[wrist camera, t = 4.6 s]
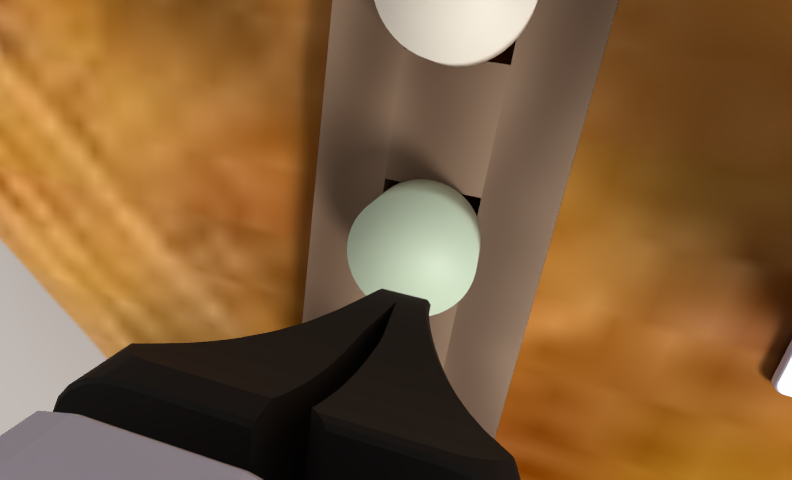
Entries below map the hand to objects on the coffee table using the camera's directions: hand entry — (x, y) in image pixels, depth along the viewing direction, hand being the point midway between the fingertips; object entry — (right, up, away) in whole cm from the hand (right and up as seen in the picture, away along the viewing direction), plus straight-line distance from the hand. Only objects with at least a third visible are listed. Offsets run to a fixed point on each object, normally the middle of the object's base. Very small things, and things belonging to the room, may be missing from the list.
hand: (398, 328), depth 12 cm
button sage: (+1, +3, +9) cm, 9 cm away
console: (+2, +3, +9) cm, 10 cm away
